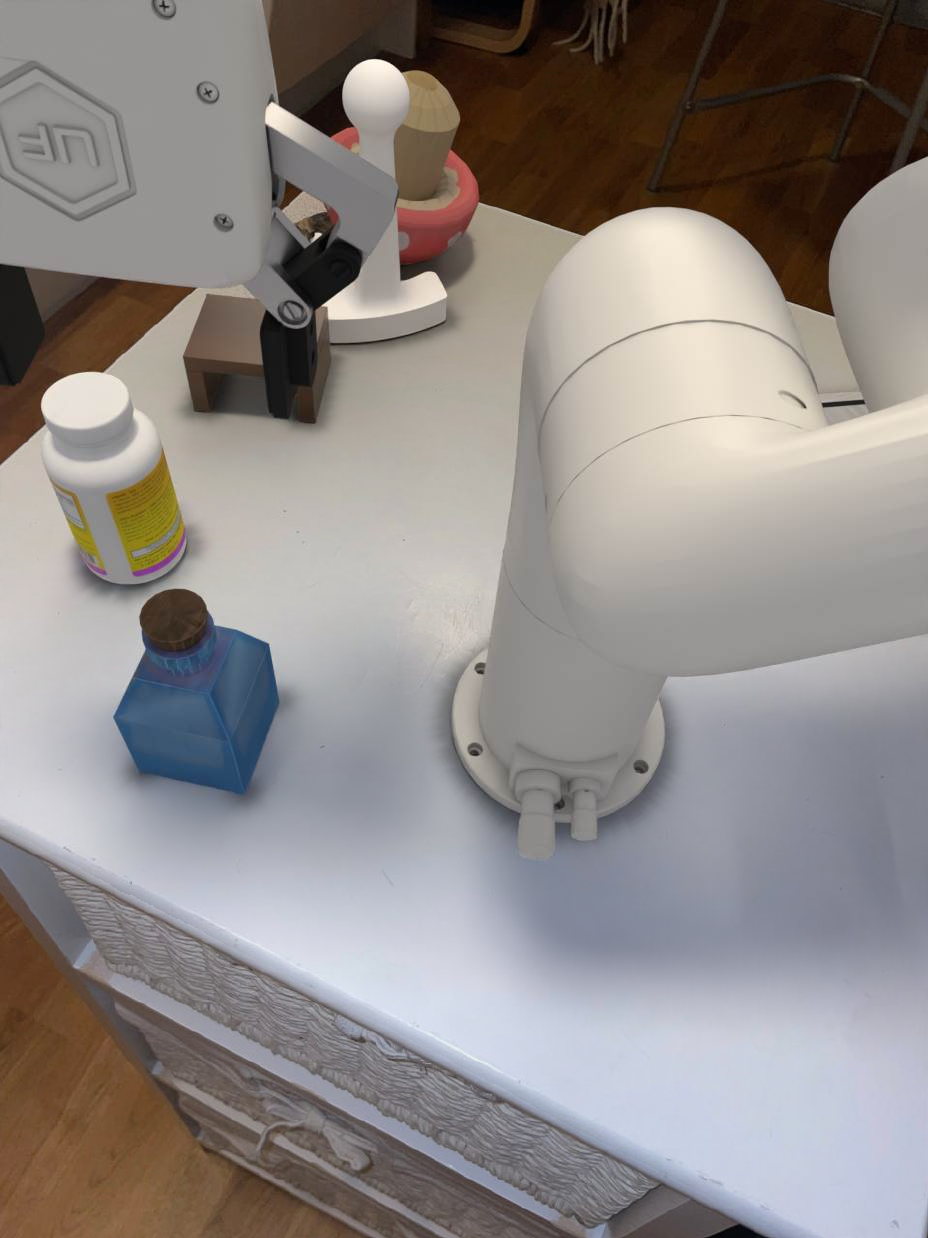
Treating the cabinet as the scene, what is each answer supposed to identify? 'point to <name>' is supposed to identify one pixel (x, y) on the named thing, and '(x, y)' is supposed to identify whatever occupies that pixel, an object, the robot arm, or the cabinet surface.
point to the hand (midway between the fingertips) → (155, 377)
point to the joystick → (378, 293)
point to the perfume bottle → (197, 696)
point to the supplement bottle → (111, 479)
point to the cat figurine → (314, 226)
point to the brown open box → (243, 351)
